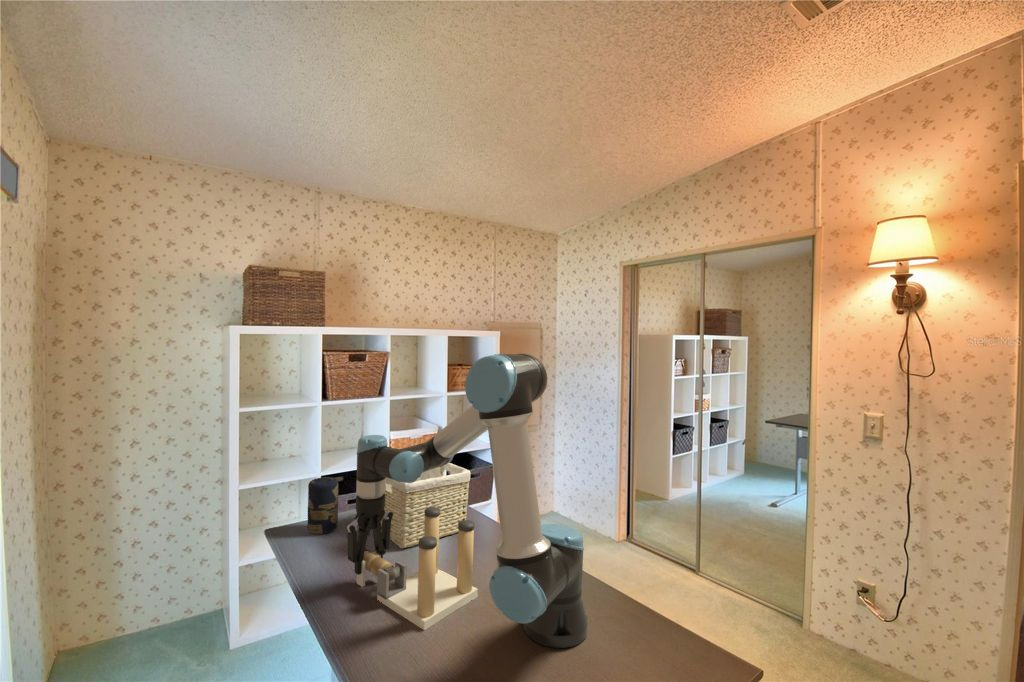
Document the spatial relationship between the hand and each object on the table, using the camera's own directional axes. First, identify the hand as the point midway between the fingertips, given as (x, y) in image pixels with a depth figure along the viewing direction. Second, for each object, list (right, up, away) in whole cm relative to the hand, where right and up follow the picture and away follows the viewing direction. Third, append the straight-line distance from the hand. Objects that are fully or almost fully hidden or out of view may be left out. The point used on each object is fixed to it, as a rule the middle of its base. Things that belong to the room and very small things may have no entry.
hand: (368, 580), depth 122 cm
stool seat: (+17, -2, -5) cm, 18 cm away
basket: (+6, -1, +37) cm, 37 cm away
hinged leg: (+3, +3, -3) cm, 5 cm away
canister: (-26, 0, +33) cm, 42 cm away
